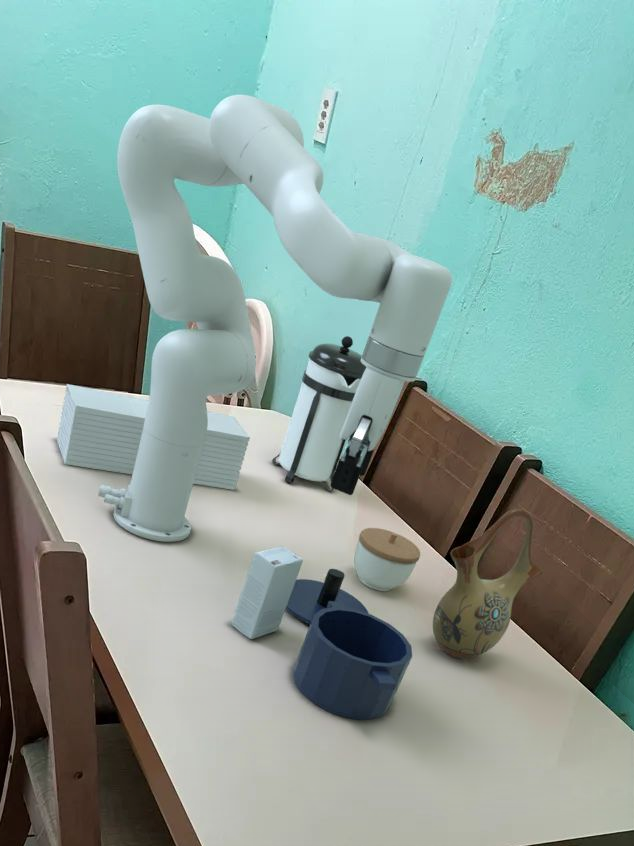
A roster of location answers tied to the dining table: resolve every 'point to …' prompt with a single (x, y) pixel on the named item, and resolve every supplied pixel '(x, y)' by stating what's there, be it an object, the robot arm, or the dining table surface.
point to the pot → (351, 662)
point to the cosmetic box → (266, 592)
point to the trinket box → (384, 558)
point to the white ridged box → (139, 436)
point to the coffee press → (321, 413)
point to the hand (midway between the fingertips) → (347, 481)
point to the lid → (320, 596)
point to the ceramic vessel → (481, 595)
